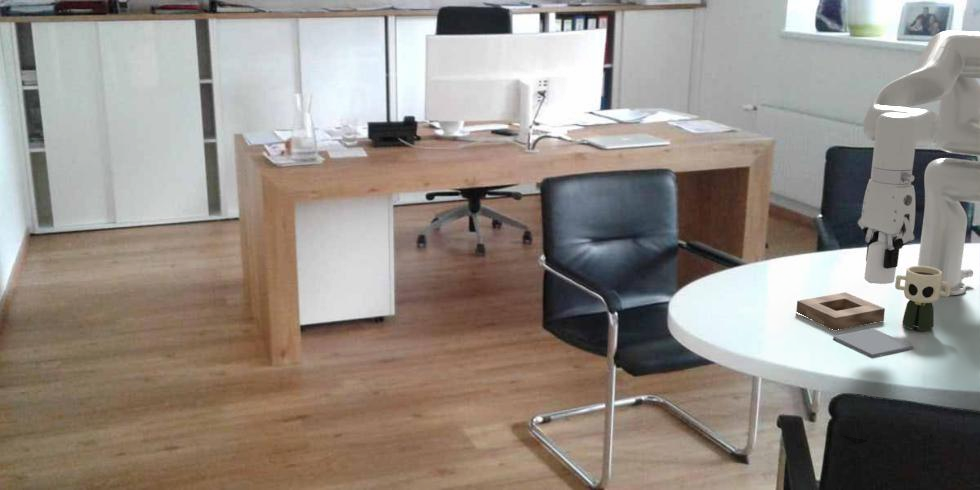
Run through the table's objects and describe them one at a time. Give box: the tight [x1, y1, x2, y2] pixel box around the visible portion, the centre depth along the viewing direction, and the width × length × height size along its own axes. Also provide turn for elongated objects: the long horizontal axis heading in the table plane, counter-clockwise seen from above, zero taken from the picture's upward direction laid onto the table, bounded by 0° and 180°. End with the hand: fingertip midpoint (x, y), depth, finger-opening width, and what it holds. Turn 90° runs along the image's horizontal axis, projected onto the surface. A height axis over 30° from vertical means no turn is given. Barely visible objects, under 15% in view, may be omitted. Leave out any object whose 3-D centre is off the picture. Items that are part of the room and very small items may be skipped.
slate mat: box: [832, 328, 914, 358], centre depth 210 cm, size 11×11×1 cm
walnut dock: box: [796, 292, 886, 331], centre depth 224 cm, size 14×12×3 cm
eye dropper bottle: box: [863, 232, 897, 285], centre depth 204 cm, size 4×6×12 cm
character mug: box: [894, 265, 951, 331], centre depth 217 cm, size 11×7×13 cm, turn 59°
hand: (881, 263), depth 205 cm, fingers closed on eye dropper bottle, 4 cm apart
